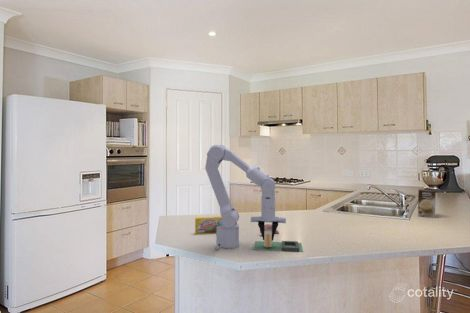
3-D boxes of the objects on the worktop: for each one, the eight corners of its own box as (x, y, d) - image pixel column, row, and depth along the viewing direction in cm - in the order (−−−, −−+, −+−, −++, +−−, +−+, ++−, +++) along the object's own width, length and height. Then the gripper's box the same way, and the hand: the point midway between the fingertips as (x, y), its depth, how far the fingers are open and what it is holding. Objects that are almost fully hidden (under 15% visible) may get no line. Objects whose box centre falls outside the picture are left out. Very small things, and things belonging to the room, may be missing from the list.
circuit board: (252, 252, 125) (252, 249, 125) (255, 243, 137) (255, 241, 137) (303, 254, 122) (303, 252, 122) (301, 245, 134) (301, 243, 134)
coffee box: (417, 216, 190) (417, 190, 189) (417, 214, 195) (418, 189, 195) (435, 218, 185) (435, 191, 184) (435, 216, 190) (435, 190, 190)
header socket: (281, 251, 123) (281, 247, 123) (281, 244, 132) (281, 240, 132) (299, 252, 122) (299, 248, 122) (297, 244, 131) (297, 241, 131)
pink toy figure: (273, 237, 152) (267, 223, 153) (280, 234, 149) (274, 220, 151) (262, 242, 144) (256, 227, 146) (269, 239, 141) (263, 224, 143)
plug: (264, 247, 126) (264, 231, 126) (264, 243, 131) (264, 228, 131) (271, 247, 126) (271, 231, 125) (271, 243, 130) (271, 228, 130)
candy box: (195, 235, 151) (195, 218, 151) (195, 233, 153) (195, 217, 153) (227, 233, 154) (227, 216, 154) (227, 231, 156) (227, 215, 156)
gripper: (249, 208, 125) (249, 241, 126) (286, 209, 123) (285, 243, 123) (251, 205, 132) (251, 236, 133) (285, 206, 130) (285, 238, 130)
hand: (268, 239), depth 129 cm, fingers closed on plug, 3 cm apart
